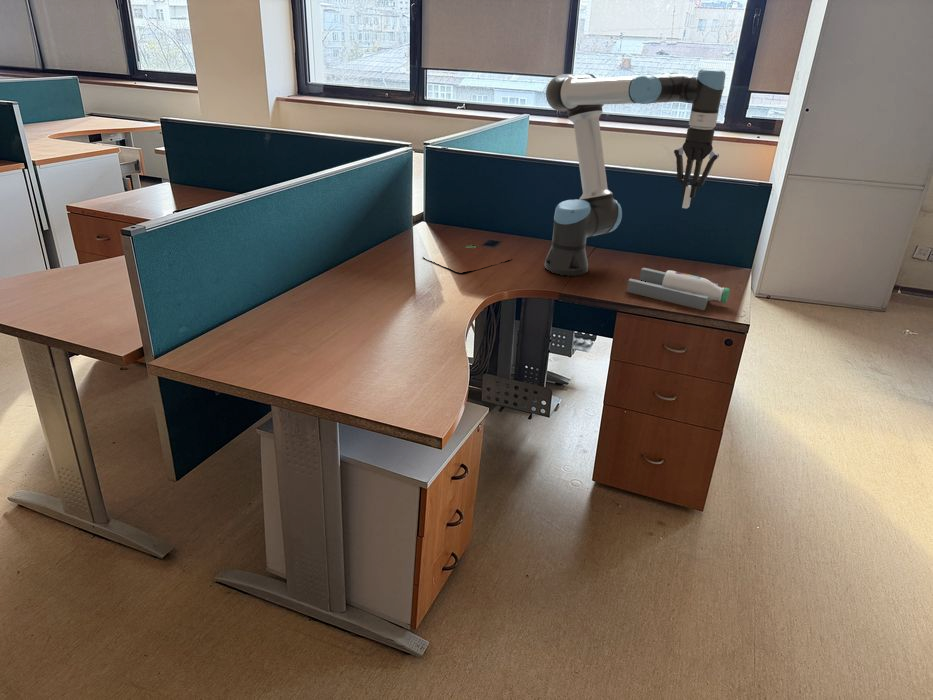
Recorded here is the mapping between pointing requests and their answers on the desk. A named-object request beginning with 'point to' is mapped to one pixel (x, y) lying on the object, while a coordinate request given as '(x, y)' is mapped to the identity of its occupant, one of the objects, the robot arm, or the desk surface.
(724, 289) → the milk bottle
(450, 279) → the desk surface
